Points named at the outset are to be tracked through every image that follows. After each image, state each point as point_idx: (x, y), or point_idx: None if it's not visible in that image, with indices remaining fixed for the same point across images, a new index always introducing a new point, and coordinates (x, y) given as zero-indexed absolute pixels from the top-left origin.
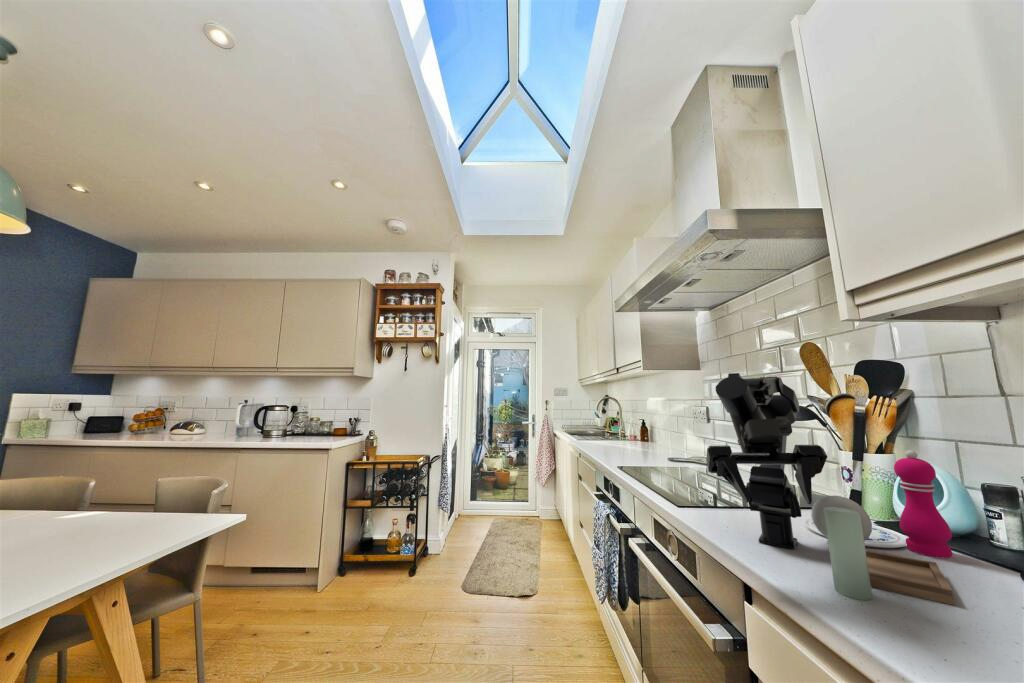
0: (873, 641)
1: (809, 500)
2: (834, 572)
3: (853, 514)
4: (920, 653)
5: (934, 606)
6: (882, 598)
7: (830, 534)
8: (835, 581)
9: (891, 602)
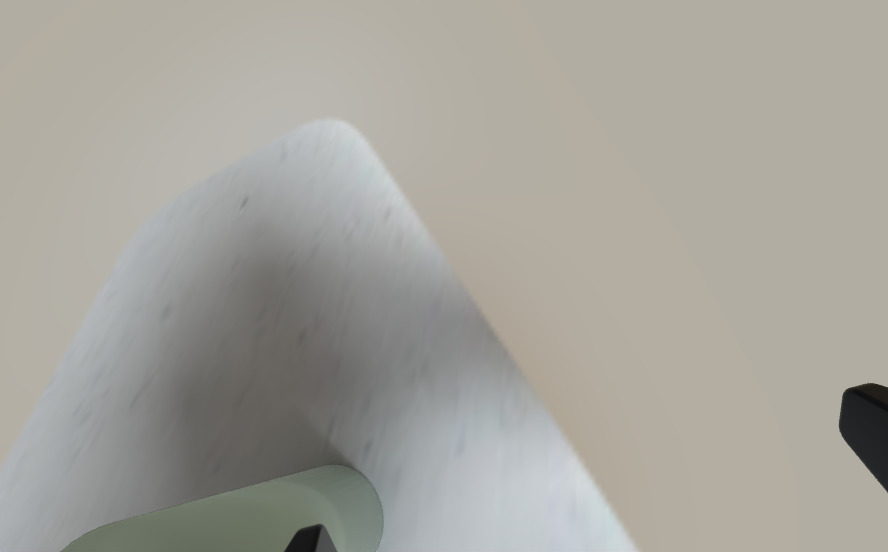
0: (361, 202)
1: (316, 525)
2: (362, 512)
3: None
4: (282, 202)
5: None
6: None
7: None
8: (372, 510)
9: None
